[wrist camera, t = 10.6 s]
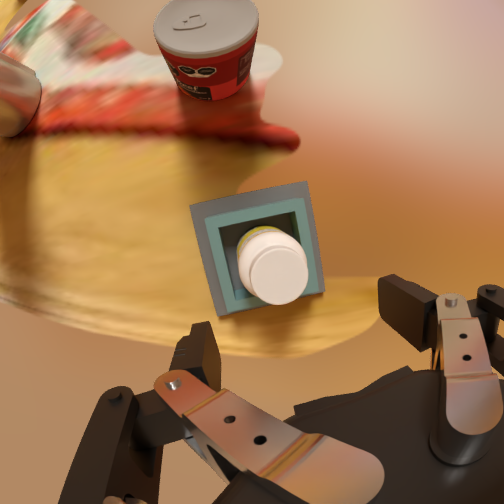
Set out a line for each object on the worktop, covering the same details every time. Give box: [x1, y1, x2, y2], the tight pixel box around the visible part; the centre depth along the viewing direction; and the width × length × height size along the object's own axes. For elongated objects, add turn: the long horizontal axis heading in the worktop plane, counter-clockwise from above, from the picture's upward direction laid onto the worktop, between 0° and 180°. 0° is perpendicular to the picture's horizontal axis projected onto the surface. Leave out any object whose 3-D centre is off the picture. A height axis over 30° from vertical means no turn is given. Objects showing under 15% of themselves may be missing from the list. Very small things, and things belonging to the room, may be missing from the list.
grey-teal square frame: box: [189, 181, 325, 316], centre depth 27 cm, size 12×12×4 cm
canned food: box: [153, 0, 259, 101], centre depth 19 cm, size 8×8×11 cm
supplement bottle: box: [236, 225, 308, 305], centre depth 23 cm, size 5×5×10 cm
